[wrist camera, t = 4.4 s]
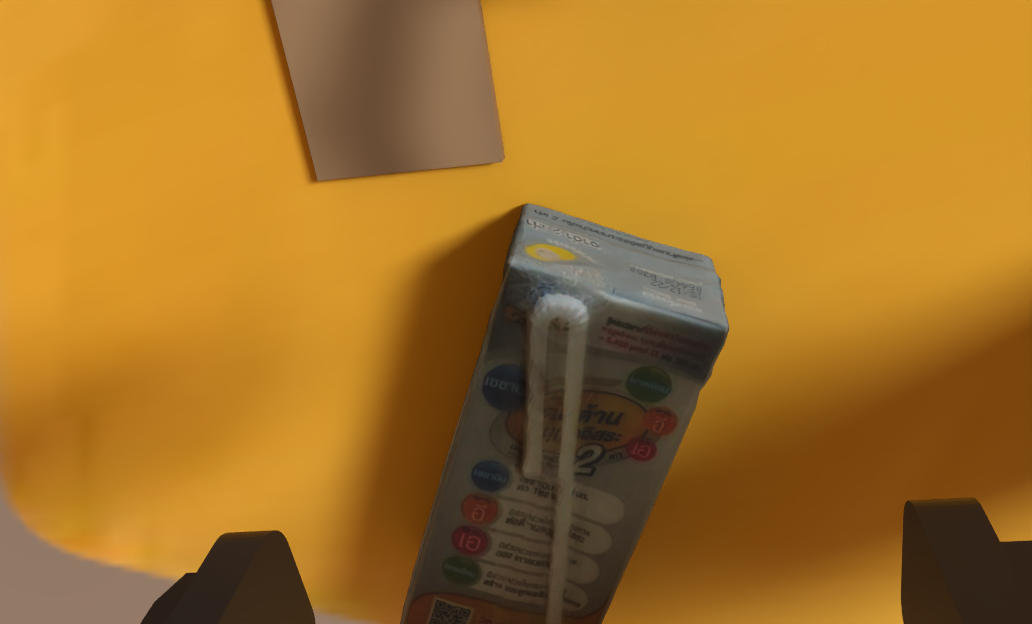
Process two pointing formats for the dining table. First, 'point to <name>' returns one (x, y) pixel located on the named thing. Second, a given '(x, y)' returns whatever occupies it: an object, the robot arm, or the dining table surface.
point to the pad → (391, 84)
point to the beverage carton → (566, 424)
